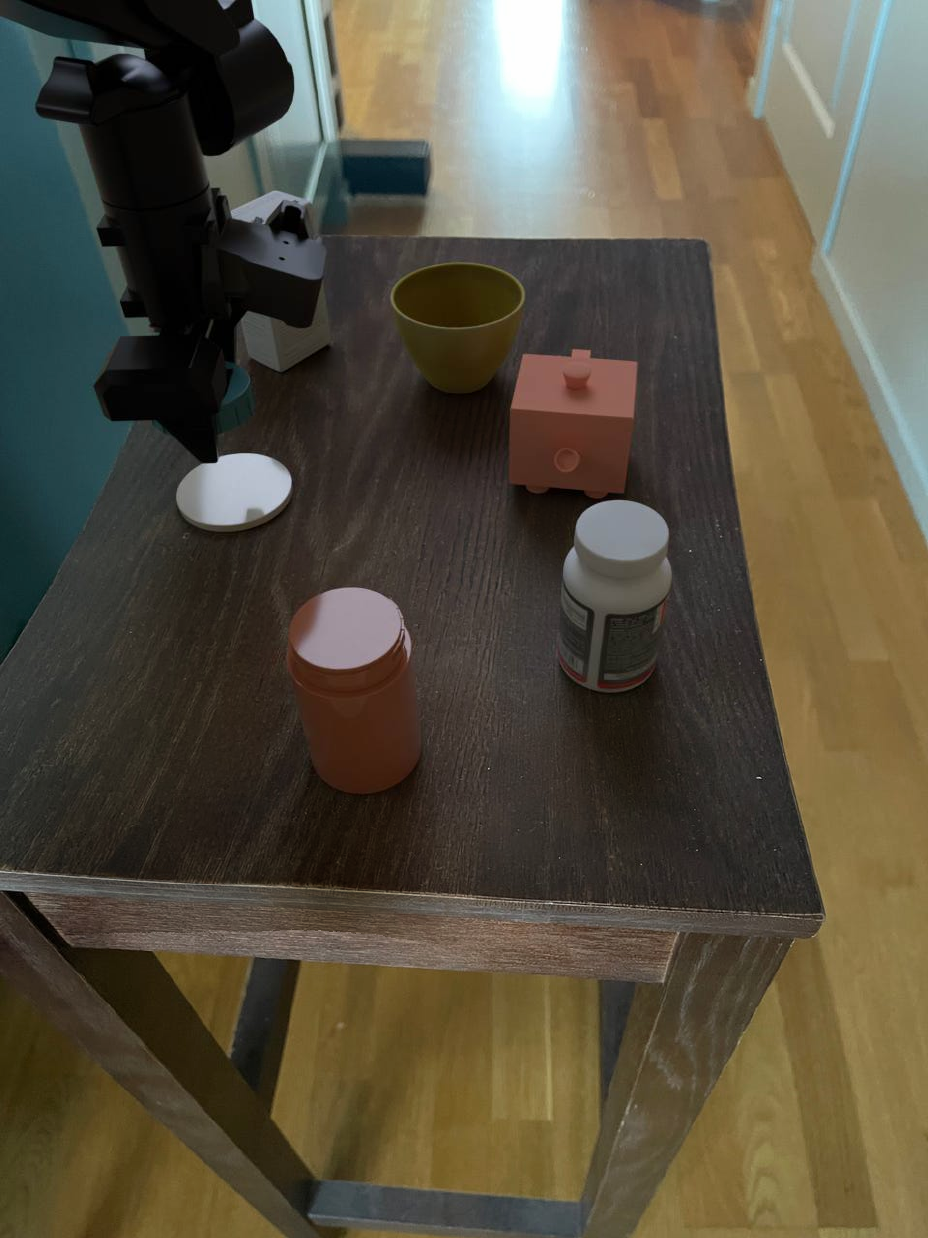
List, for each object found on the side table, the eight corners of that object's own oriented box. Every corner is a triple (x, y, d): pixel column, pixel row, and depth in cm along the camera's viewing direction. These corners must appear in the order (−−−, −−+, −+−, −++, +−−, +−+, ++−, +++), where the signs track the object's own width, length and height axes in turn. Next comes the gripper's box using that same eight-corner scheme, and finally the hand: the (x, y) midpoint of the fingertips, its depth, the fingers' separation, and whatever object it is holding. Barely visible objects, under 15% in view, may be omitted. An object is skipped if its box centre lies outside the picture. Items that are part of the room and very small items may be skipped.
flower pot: (542, 396, 71) (546, 311, 66) (420, 425, 69) (414, 339, 64) (495, 334, 78) (496, 252, 73) (382, 358, 76) (374, 276, 71)
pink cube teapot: (502, 526, 61) (503, 422, 55) (523, 421, 69) (526, 321, 63) (619, 537, 60) (634, 432, 54) (627, 430, 68) (641, 328, 62)
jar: (347, 815, 46) (321, 698, 39) (290, 737, 50) (257, 617, 43) (443, 756, 49) (435, 636, 42) (383, 685, 52) (366, 563, 45)
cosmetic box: (298, 328, 79) (274, 185, 70) (335, 345, 77) (315, 199, 69) (245, 359, 76) (212, 213, 67) (282, 377, 74) (254, 228, 65)
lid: (130, 426, 58) (121, 399, 57) (192, 377, 62) (186, 352, 61) (216, 448, 56) (210, 421, 55) (275, 396, 60) (270, 370, 59)
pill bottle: (664, 634, 54) (690, 505, 47) (645, 707, 51) (670, 579, 43) (570, 613, 56) (581, 484, 48) (544, 682, 52) (553, 554, 45)
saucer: (201, 547, 60) (198, 541, 60) (162, 483, 65) (160, 476, 65) (311, 505, 63) (310, 498, 63) (266, 446, 68) (265, 440, 67)
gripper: (285, 265, 42) (329, 521, 54) (321, 120, 55) (350, 352, 67) (45, 272, 42) (140, 526, 54) (137, 126, 55) (198, 357, 67)
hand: (218, 431), depth 60 cm, fingers closed on lid, 6 cm apart
